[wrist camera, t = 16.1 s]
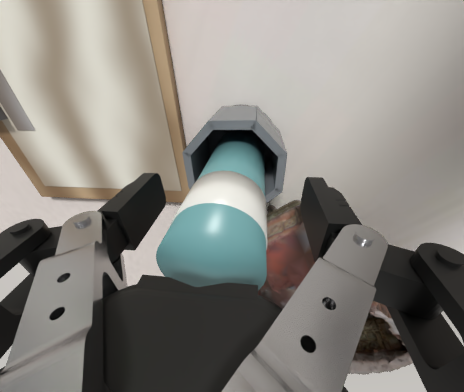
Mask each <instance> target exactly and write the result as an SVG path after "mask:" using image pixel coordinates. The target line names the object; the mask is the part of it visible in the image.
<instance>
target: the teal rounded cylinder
mask: <svg viewBox="0 0 464 392" xmlns="http://www.w3.org/2000/svg"><path fill="white" fill-rule="evenodd" d="M266 250H267V208H266V199H265V162H264V148H263V145H262V143H261V141H260V140H259V139H258V137H256V136H255V135H254V134H252V133H250V132H248V131H244V130H235V131H231V132H229V133H227V134H226V135H224V136H223V137H222V138H221V140H220V141H219V143H218V145H217V146H216V148H215V150H214V152H213V153H212V155H211V157H210V159H209V160H208V162H207V164H206V165H205V167H204V169H203V171H202V172H201V174H200V176H199V178H198V179H197V181H196V182H195V183H194V184H193V186H192V188H191V189H190V191H189V193H188V194H187V196H186V198H185V200H184V201H183V203H182V205H181V206H180V208H179V210H178V212H177V213H176V215H175V217H174V218H173V220H172V222H171V226H170V228H169V230H168V231H167V233H166V235H165V237H164V238H163V240H162V242H161V244H160V245H159V247H158V250H157V254H156V259H157V264H158V266H159V268H160V270H161V272H162V273H163V274H164V276H165V277H170V278H173V279H176V280H178V281H181V282H183V283H186V284H189V285H191V286H194V287H202V286H208V285H215V284H221V283H228V282H229V283H240V284H251V285H258V290H259V289H260V288H261V287H262V286H263V285H264V283H265V281H266V277H267V263H266Z"/></svg>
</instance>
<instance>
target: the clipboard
mask: <svg viewBox="0 0 464 392" xmlns="http://www.w3.org/2000/svg"><path fill="white" fill-rule="evenodd" d="M0 137H1V139H2V140H3V141H4V143H5V144H6V146H7V147H8V149H9V150H10V151H11V153H12V154H13V156H14V157H15V159H16V160H17V162H18V163H19V164H20V166H21V167H22V169H23V170H24V172H25V173H26V175H27V176H28V177H29V179H30V180H31V182H32V183H33V185H34V186H35V188H36V189H37V190H38V192H39V193H40V195H41V196H43V197H66V198H90V199H112V198H113V197H115V195H116V194H117V193H118V192H120V191H121V190H122V189H123V188H124V187H125V186H126V185H128V184H130V183H132V182H134V181H135V180H136V179H137V178H138V177H139V176H140V175H142V174H143V173H158V174H159V175H160V177H161V181H162V184H163V188H164V192H165V196H166V202H182V203H183V201H184V200H185V198H186V196H187V194H188V193H189V191H190V189H189V187H188V182H187V176H186V171H185V165H184V160H183V154H182V153H183V151H184V150H185V148H186V143H185V137H184V131H183V125H182V119H181V113H180V107H179V101H178V95H177V89H176V83H175V77H174V72H173V66H172V60H171V54H170V48H169V42H168V36H167V30H166V24H165V18H164V12H163V6H162V0H0Z"/></svg>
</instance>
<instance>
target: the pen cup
mask: <svg viewBox="0 0 464 392" xmlns="http://www.w3.org/2000/svg"><path fill="white" fill-rule="evenodd" d="M235 130H244V131H248V132H250V133H252V134H254V135H255V136H256V137H258V139H259V140H260V141H261V143H262V145H263V148H264V162H265V199H266V203H267V202H269V201H270V200H272V199H273V198H274V197H276V196H277V195H279V194H280V193H281V192H282V190H283V182H284V175H285V167H286V159H287V152H286V149H285V146H284V143H283V140H282V137H281V134H280V131H279V130H278V128H277V127H276V126H275V125H274V124H273V123H272V121H271V120H270V118H269V117H268V116H267V115H266V114H265V113H263V112H262V111H261V110H260V108H259V107H258V106H248V105H234V106H223V107H221V108H220V109H219V110H218V111H217V112H216V114H215V115H214V116H213V117H212V118H211V119H210V120H209V121H208V122H207V123H206V124H205V126H204V127H203V128H202V129H201V130H200V132H199V133H198V134H197V135H196V136H195V138H194V139H193V140H192V141H191V142H190V144H189V145H188V146H187V147H186V148H185V150H184V151H183V153H182V154H183V160H184V165H185V171H186V176H187V182H188V187H189V189H191V188H192V186H193V184H194V183H195V182H196V181H197V179H198V178H199V176H200V174H201V172H202V171H203V169H204V167H205V165H206V164H207V162H208V160H209V159H210V157H211V155H212V153H213V152H214V150H215V148H216V146H217V145H218V143H219V141H220V140H221V138H222V137H223V136H224V135H226V134H227V133H229V132H231V131H235Z"/></svg>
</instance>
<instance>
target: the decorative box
mask: <svg viewBox="0 0 464 392" xmlns="http://www.w3.org/2000/svg"><path fill="white" fill-rule="evenodd" d="M300 204H301V201H300V200H294V201H292V202H290V203H288V204H286V205H284V206H282V207H280V208H279V209H275V207H274V206H273V205H270V206H269V207H268V214H267V250H266V263H267V277H266V281H265V283H264V285H263V286H262V287H261V288H260V289H259V290H258V295H260V296H263V297H265V298H267V299H269V300H271V301H272V302H274V303H275V304H277V305H278V306H280V307H281V308H282V309H283V308H284V307H285V306H286V304H287V303H288V301H289V300H290V298H291V297H292V295H293V294H294V293H295V291H296V290H297V288H298V287H299V285H300V284H301V282H302V281H303V280H304V278H305V277H306V275H307V274H308V272H309V271H310V269H311V268H312V267H313V265H314V264H315V262H314V258H313V255H312V251H311V248H310V244H309V241H308V237H307V234H306V230H305V227H304V223H303V220H302V216H301V212H300ZM411 363H413V361H412V359H411V357H410V355H409V353H408V351H407V349H406V347H405V345H404V342H403V340H402V338H401V336H400V334H399V332H398V330H397V328H396V326H395V324H394V322H393V319H392V317H391V315H390V313H389V311H388V309H387V307H386V305H383V304H380V303H378V302H375V301H372V304H371V307H370V310H369V313H368V316H367V319H366V322H365V325H364V328H363V331H362V334H361V337H360V339H359V342H358V345H357V348H356V351H355V354H354V357H353V360H352V363H351V366H350V369H349V372H348V374H350V373H351V374H354V373H356V374H357V373H358V374H369V373H372V372H374V373H380V372H384V371H387V372H388V371H389V372H390V371H393V370H395V369H399V368H401V367H403V366H404V367H405V366H406V365H410V364H411Z"/></svg>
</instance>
